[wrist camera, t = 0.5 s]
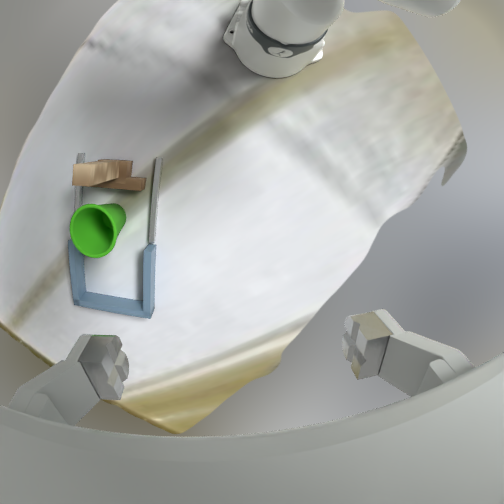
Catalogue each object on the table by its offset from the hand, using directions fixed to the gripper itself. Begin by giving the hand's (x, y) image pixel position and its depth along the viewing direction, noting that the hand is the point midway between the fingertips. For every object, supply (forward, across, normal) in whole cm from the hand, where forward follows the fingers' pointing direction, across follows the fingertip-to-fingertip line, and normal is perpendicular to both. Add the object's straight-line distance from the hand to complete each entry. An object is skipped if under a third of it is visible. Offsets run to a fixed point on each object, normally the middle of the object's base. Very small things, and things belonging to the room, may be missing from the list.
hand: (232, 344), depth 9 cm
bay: (+44, +24, +15) cm, 53 cm away
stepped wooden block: (+44, +20, -5) cm, 48 cm away
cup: (+44, +22, +4) cm, 49 cm away
